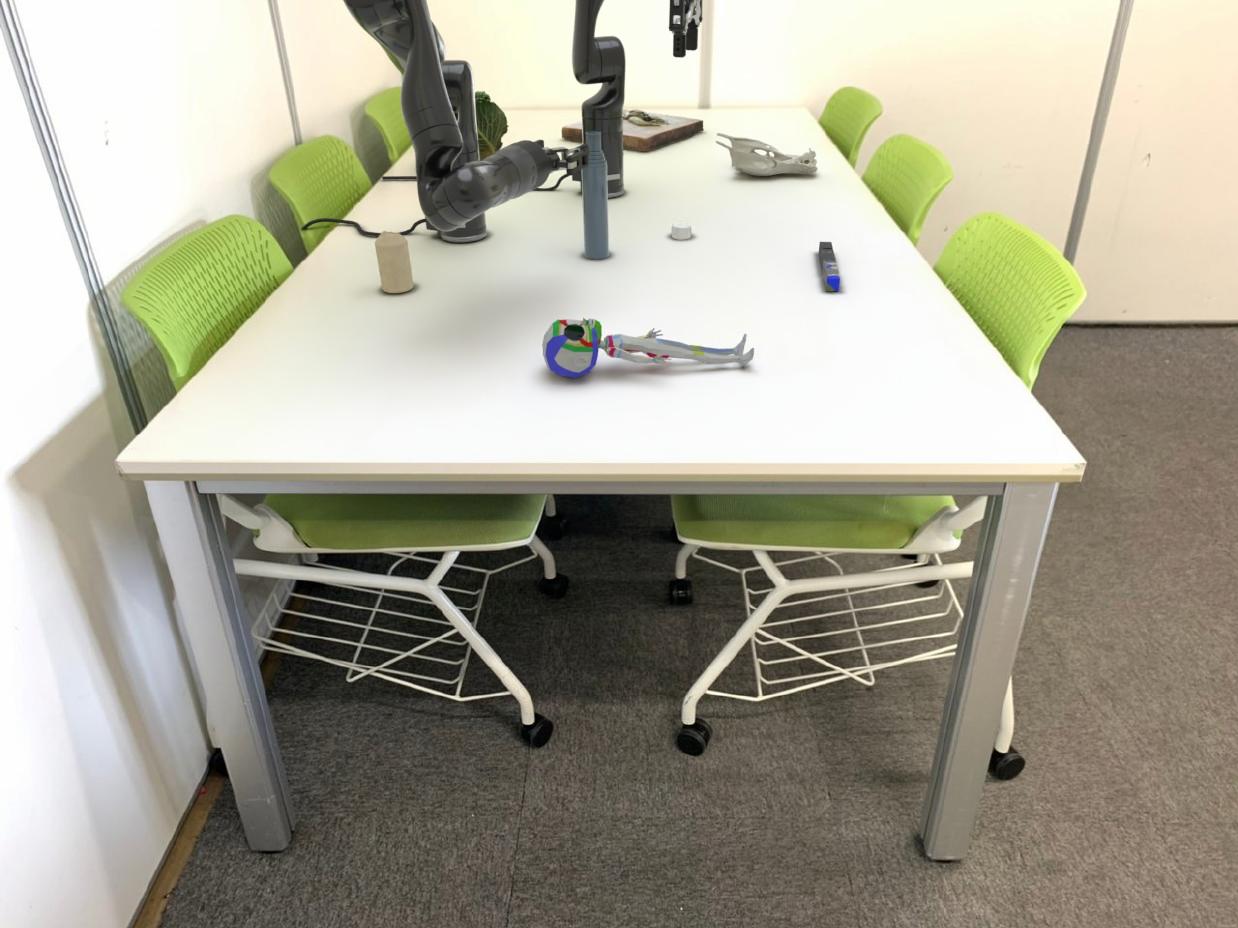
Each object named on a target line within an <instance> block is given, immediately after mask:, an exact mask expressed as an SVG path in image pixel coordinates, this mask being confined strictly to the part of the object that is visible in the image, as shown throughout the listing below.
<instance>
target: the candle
mask: <svg viewBox="0 0 1238 928" xmlns="http://www.w3.org/2000/svg"><path fill="white" fill-rule="evenodd" d="M380 233H381V234H380V236H379V237H378V236H377V238H376V240H375V241H374V247H375V254H376V259H377V266H378V271H379V277H380V283H381V288H382V291H383V292H385V293H388V294H401V293H405V292H406V293H407V292H409V291H411V290H413V288H414V277H413V271H412V263H411V257H410V250H409V243H408V239H407V237H406V236H405V235H401V234H399V232H394V231H387V230H383V231H382V232H380Z"/></svg>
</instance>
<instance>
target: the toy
mask: <svg viewBox="0 0 1238 928" xmlns="http://www.w3.org/2000/svg"><path fill="white" fill-rule="evenodd" d="M602 327H603V326H602V324H601V321H599V320H597V319H596V318H595V319H594V318H588V319H586V318H585V317H583V318H582V320H580V319H570V318H569V319H556V320H555V321H554V322H552V323H551V325H549V328H548V329H547V331H546V332H545V333H544V335H543V338H542V343H541V348H542V357H543V359H544V362H545V365H546V368H547V369H548V370H550V371H551V372H553V373H554V374H556V375H559V376H562V377H566V378H573V379H574V378H575V379H577V378H580V377H582V376H585V375H586V374H590V373H591V371H592V370H593V369H594V367H596V365H597V362H598V357H599V349H600V350H603V351H604V352H605V353H606V356H608V357H610V358H612V359H621V360H624V361H630V362H632V363H636V364H659V365H664V366H667V367H670V366H671V365H674V362H672V359H683V360H691V361H697V362H701V363H705V364H706V365H707V364H708V365H723V364H730V363H738V364H739V365H742V366H746V365H748V364H749V362H751V361H752V360H753V359H754V356H755V347H752V348H750V350H749V351H747V352H746V353H744V350H745V345H746V342H747V333H746V332H745V333H744V334H743V335H742V336H743V337H742V339H741V340H740V342H739V343H737V345H735V346H734V347H732V348H718V347H709V346H703V345H695V344H687V343H684V342H680V341H675V340H670V339H663V338H657V337H662V336H664V334H663V333H660V332H662V330H661V329H659V330H657V331H655V327H653V328H652V329H650V330H649V331H648V333H646V334H645V335H640V336H632V335H625V334H622V333H618V334H607V335H606V336H605V337H604V338H603V340H602V336H603V335H602V333H603V331H602V329H603V328H602ZM636 353H637V354H636ZM638 353H642V354H644V355H641V354H638ZM646 355H647V356H646ZM667 360H668V361H667Z"/></svg>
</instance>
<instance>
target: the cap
mask: <svg viewBox="0 0 1238 928" xmlns="http://www.w3.org/2000/svg"><path fill="white" fill-rule="evenodd" d="M691 237H692V224H691V223H690V222H687V221H677V222H673V223H671V238H672V239H674V240H681V241H682V240H689V239H691Z"/></svg>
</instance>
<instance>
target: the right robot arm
mask: <svg viewBox="0 0 1238 928" xmlns="http://www.w3.org/2000/svg"><path fill="white" fill-rule="evenodd" d="M605 1H606V0H575V5H574V6H575V9H574V21H573V22H574V23H573V33H572V44H571V45H572V47H571V65H572V72H573V76H574V78H575V80H576V82H577V83H578V84H580V85H582V86H583V85H585V86H587V85H599V84H601V86H600V88H599V90H598V91H597V92H596V93H595V94H593V95H592V96H590V97H589V98H587V99H586V100H584V101H583V102H582V103H581V109H580V112H581V121H582V140H583V142H582V144H586V132H589V131H598V132H600V133H601V149H602V153H604V156H605V160H606V163H607V185H608V199H612V198H617V197H620V196H622V195H624V193H625V187H624V186H625V183H624V181H625V180H624V175H625V174H624V173H625V172H624V148H623V110H624V105H625V98H626V97H625V96H626V95H625V93H626V92H625V91H626V68H627V67H626V65H627V64H626V63H627V62H626V61H627V59H626V50H625V47H624V44H623V41H622V40H621V38H620V37H618V36H616V35H603V36H602V35H601V36H596V26H597V21H598V17H599V14H600V11H601V9H602V7H603V5H604V3H605ZM668 11H669V13H668V15H669V16H668V17H669V18H668V31H669V32H671V34H672V38H673V39H672V56H673V58H681V59H683V58H685V57H686V55H687V51H693V52H694V51H696V50H697V49H698V48H699V46H698V45H699V28H700V26H701V23H702V22H703V0H669V10H668ZM570 176H571V181H572V182H579V184H580V185H579V187H580V195H582V171H581V170H579V171H577V172H575V173H572V174H568V173H565V174H563V175H561V176H560V177H559V178H558V180H557V181H556V184H555V185H553V186H551V187H545V188H544V187H538V188H536V189H534V190H533V191H534V192H535V191H537V192H552V191H555V190H557V189H558V188H559V187H560V185H561V183H562V181H563V180H565V179H566V178H568V177H570ZM381 179H382V180H385V181H387V180H389V181H390V180H391V181H392V180H417V177H416V175H391V176H389V175H387V176H386V175H385V176H383V175H382V177H381Z"/></svg>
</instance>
